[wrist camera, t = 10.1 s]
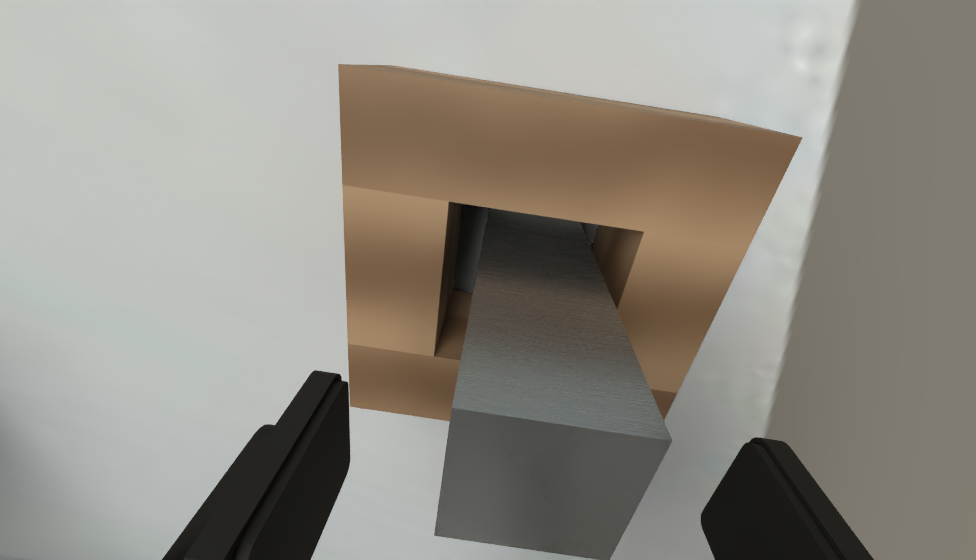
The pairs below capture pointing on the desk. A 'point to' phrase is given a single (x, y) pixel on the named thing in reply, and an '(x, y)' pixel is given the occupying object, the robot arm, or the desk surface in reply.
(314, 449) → the robot arm
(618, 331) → the grey brushed prism
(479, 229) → the desk surface
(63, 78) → the desk surface
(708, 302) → the block
